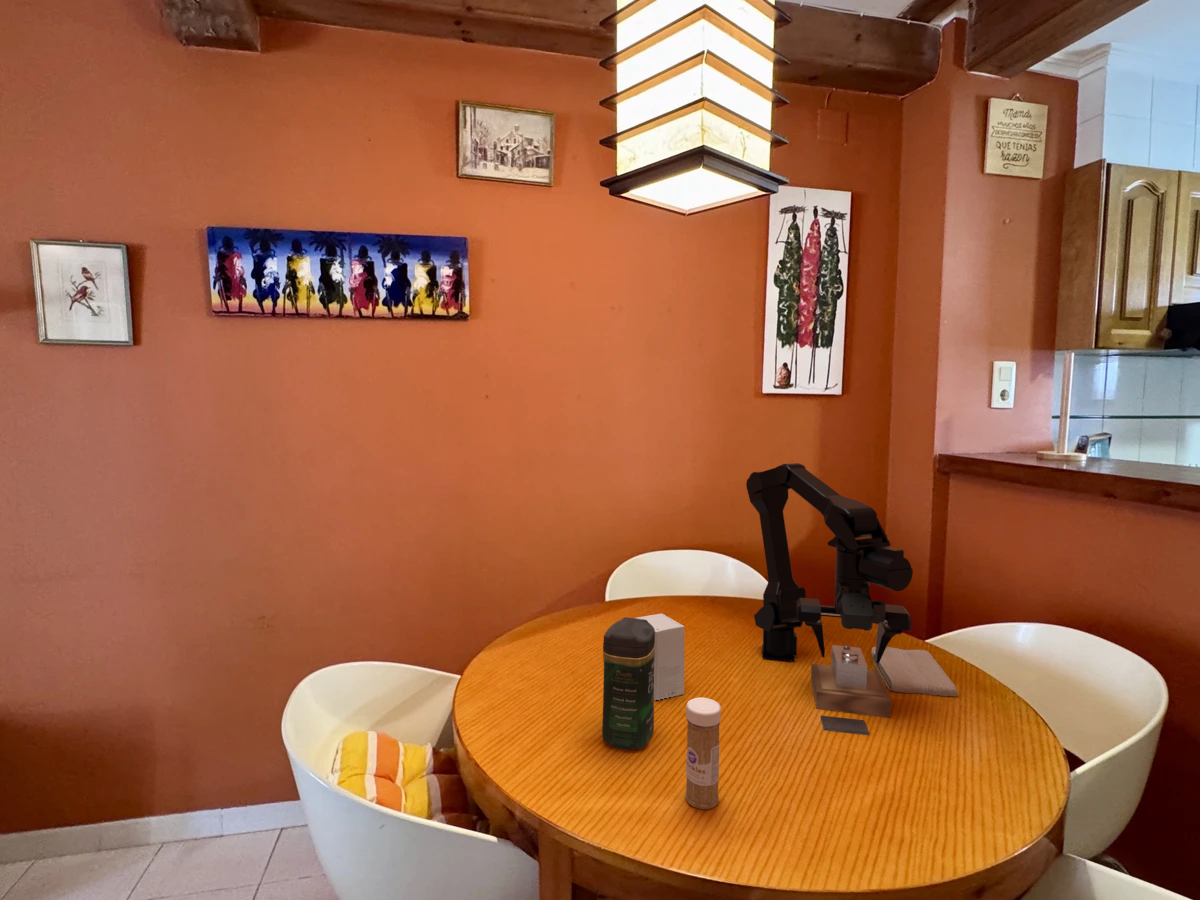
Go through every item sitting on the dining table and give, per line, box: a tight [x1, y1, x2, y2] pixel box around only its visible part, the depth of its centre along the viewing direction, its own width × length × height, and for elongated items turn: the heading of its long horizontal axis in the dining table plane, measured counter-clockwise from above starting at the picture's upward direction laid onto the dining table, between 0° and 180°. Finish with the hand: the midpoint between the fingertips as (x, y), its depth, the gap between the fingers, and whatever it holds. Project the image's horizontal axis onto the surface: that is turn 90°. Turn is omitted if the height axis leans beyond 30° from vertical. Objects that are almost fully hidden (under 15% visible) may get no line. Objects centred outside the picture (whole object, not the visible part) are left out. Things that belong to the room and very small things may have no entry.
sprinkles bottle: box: [684, 697, 722, 810], centre depth 81 cm, size 5×5×14 cm
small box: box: [635, 613, 685, 702], centre depth 113 cm, size 8×6×13 cm
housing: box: [830, 644, 868, 690], centre depth 110 cm, size 8×5×6 cm, turn 165°
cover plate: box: [819, 715, 870, 736], centre depth 100 cm, size 7×4×1 cm, turn 77°
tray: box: [810, 663, 892, 718], centre depth 110 cm, size 12×12×3 cm
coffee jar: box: [601, 616, 655, 751], centre depth 97 cm, size 10×8×19 cm
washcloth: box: [870, 646, 959, 698], centre depth 120 cm, size 12×18×3 cm, turn 169°
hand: (849, 659), depth 110 cm, fingers open, 9 cm apart
